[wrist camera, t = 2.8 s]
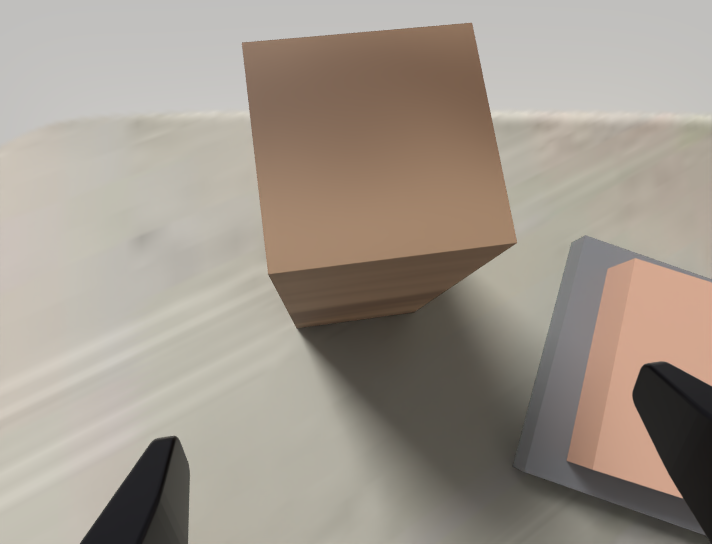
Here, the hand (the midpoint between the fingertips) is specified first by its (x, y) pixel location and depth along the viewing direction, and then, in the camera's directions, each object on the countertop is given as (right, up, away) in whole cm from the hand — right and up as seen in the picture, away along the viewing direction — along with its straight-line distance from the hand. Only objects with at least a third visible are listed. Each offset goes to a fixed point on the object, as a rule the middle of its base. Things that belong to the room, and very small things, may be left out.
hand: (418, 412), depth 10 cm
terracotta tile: (+12, -2, +11) cm, 17 cm away
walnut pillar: (-2, +3, +13) cm, 13 cm away
